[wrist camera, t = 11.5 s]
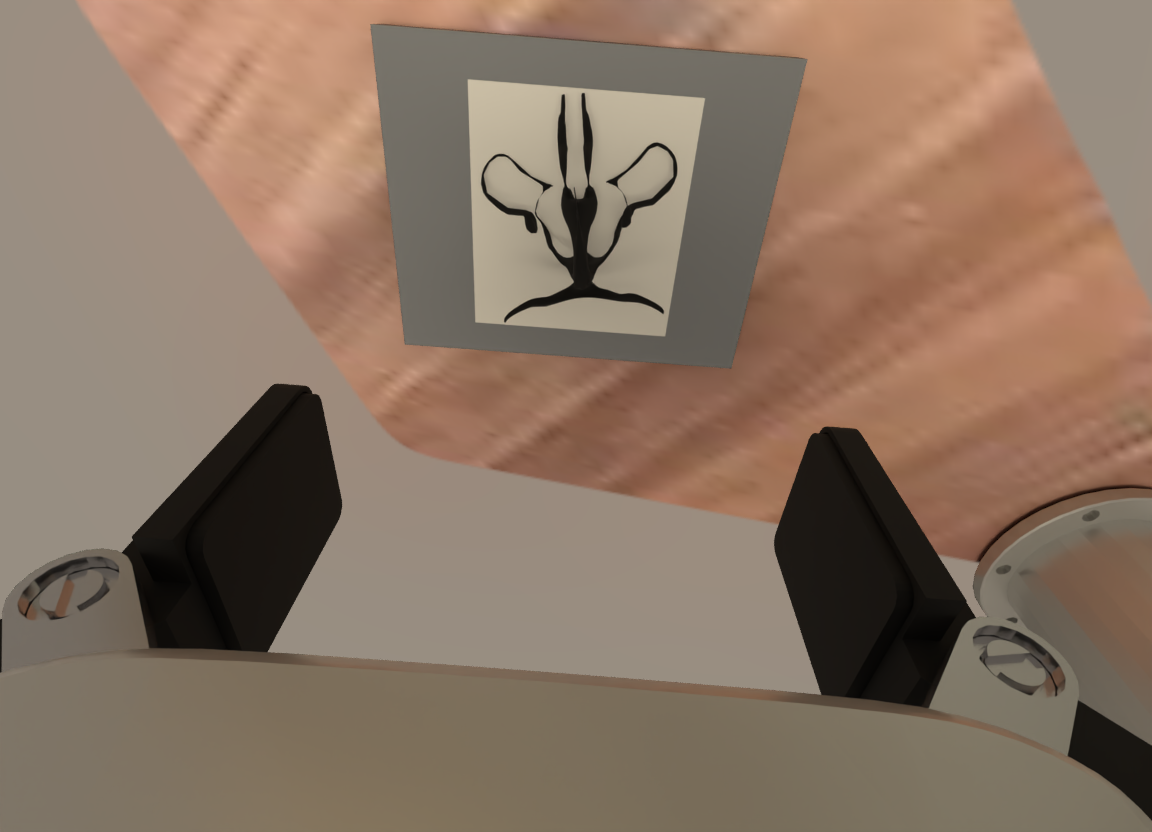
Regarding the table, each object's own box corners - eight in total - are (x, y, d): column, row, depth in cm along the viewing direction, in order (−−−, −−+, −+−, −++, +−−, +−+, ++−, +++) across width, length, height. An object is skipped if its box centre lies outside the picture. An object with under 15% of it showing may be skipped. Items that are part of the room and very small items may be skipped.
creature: (477, 107, 24) (499, 305, 26) (443, 85, 19) (474, 332, 21) (673, 92, 23) (674, 295, 26) (693, 65, 18) (691, 321, 21)
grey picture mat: (798, 57, 22) (808, 59, 21) (726, 356, 30) (731, 369, 29) (380, 23, 22) (369, 24, 21) (411, 333, 30) (404, 345, 28)
